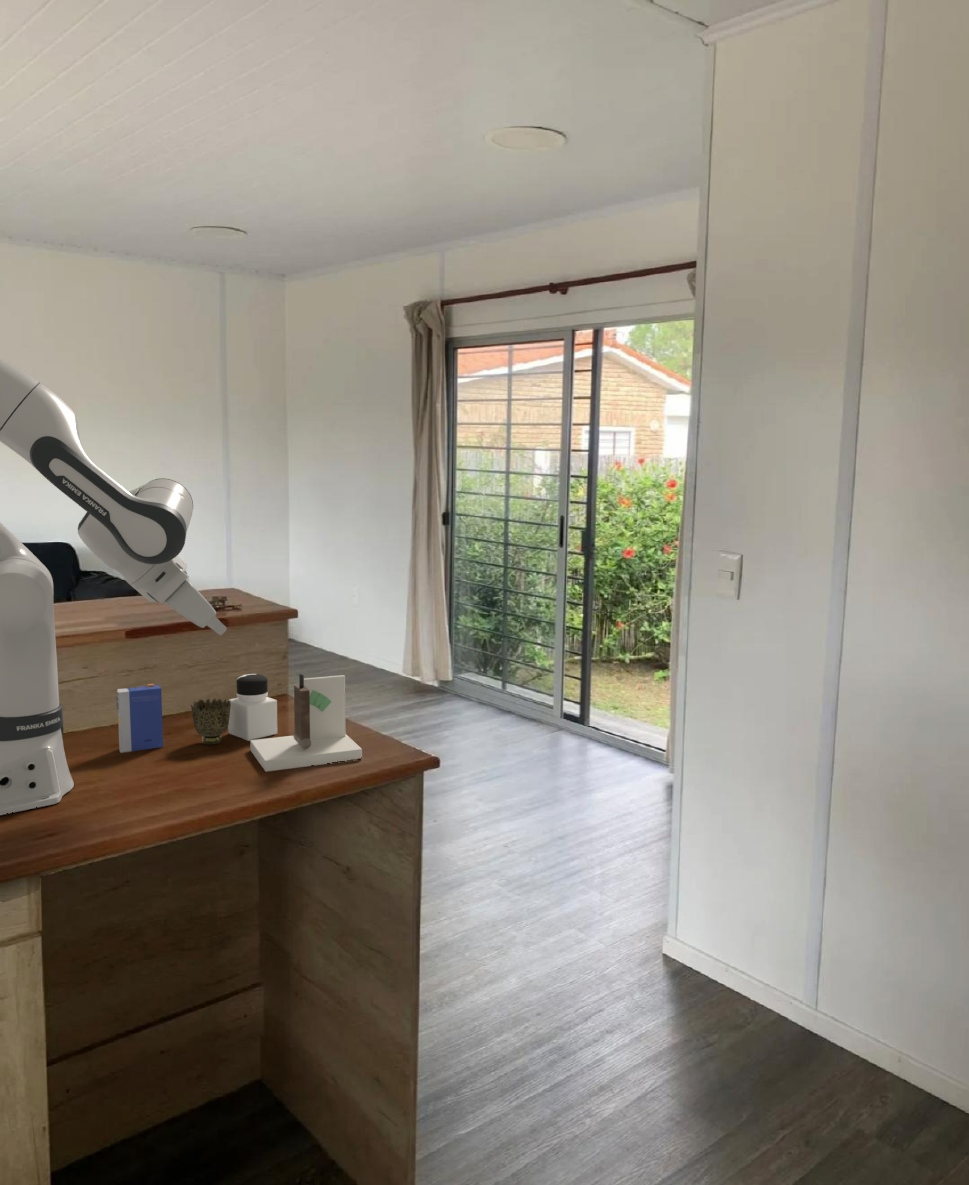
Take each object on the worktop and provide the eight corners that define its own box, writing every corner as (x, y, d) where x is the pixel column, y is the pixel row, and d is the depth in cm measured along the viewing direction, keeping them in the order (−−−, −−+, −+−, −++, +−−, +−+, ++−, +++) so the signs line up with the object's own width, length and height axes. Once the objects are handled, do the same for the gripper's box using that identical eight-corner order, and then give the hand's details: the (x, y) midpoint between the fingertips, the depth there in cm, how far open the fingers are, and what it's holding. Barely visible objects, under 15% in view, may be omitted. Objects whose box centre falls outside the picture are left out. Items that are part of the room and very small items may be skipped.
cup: (225, 749, 185) (224, 708, 184) (187, 748, 185) (185, 707, 184) (236, 737, 192) (235, 698, 191) (199, 736, 192) (198, 697, 191)
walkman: (160, 743, 188) (158, 683, 186) (163, 747, 185) (161, 686, 184) (117, 748, 184) (115, 687, 182) (120, 752, 182) (117, 690, 180)
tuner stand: (265, 771, 173) (264, 695, 170) (250, 750, 184) (249, 678, 182) (362, 759, 180) (361, 686, 178) (341, 739, 192) (341, 671, 190)
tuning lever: (300, 749, 177) (299, 678, 175) (293, 741, 182) (292, 671, 180) (311, 748, 178) (310, 677, 176) (304, 740, 183) (303, 670, 181)
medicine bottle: (278, 734, 195) (277, 676, 193) (247, 741, 190) (246, 682, 188) (258, 726, 200) (257, 670, 198) (227, 733, 195) (226, 675, 193)
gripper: (141, 582, 174) (199, 631, 179) (154, 599, 155) (218, 654, 161) (166, 556, 175) (223, 606, 180) (182, 570, 157) (245, 626, 162)
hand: (221, 629), depth 171 cm, fingers open, 3 cm apart
